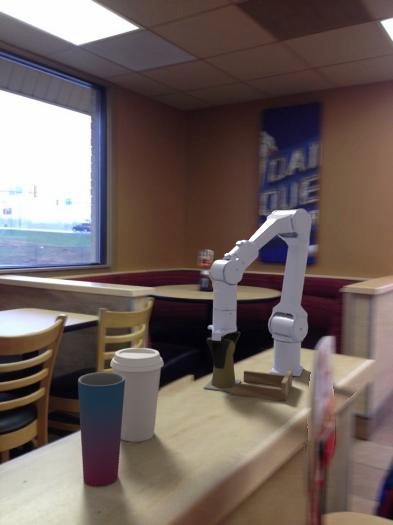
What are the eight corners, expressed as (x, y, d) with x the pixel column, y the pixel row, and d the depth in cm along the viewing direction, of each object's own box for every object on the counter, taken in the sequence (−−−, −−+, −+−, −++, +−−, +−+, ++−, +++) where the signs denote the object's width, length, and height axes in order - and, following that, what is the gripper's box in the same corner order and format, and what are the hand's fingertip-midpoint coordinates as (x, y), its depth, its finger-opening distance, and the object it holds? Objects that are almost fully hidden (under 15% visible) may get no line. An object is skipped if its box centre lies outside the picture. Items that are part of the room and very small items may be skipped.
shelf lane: (244, 380, 120) (244, 364, 120) (292, 385, 116) (292, 369, 116) (232, 394, 109) (233, 377, 109) (285, 401, 105) (285, 383, 105)
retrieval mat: (214, 378, 121) (214, 377, 121) (241, 381, 119) (241, 380, 119) (203, 388, 113) (203, 387, 113) (232, 392, 110) (232, 391, 110)
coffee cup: (171, 429, 88) (173, 350, 87) (145, 450, 79) (146, 362, 79) (128, 420, 92) (129, 344, 91) (98, 439, 83) (99, 355, 83)
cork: (236, 381, 118) (237, 337, 117) (234, 389, 112) (235, 343, 111) (212, 379, 119) (213, 336, 118) (209, 387, 113) (210, 341, 112)
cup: (81, 467, 73) (81, 372, 72) (125, 466, 74) (126, 371, 73) (73, 490, 66) (74, 385, 66) (122, 489, 67) (123, 385, 66)
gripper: (217, 304, 123) (216, 355, 124) (199, 312, 109) (198, 369, 110) (243, 306, 121) (242, 358, 121) (229, 314, 107) (227, 373, 108)
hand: (223, 364), depth 115 cm, fingers open, 7 cm apart
